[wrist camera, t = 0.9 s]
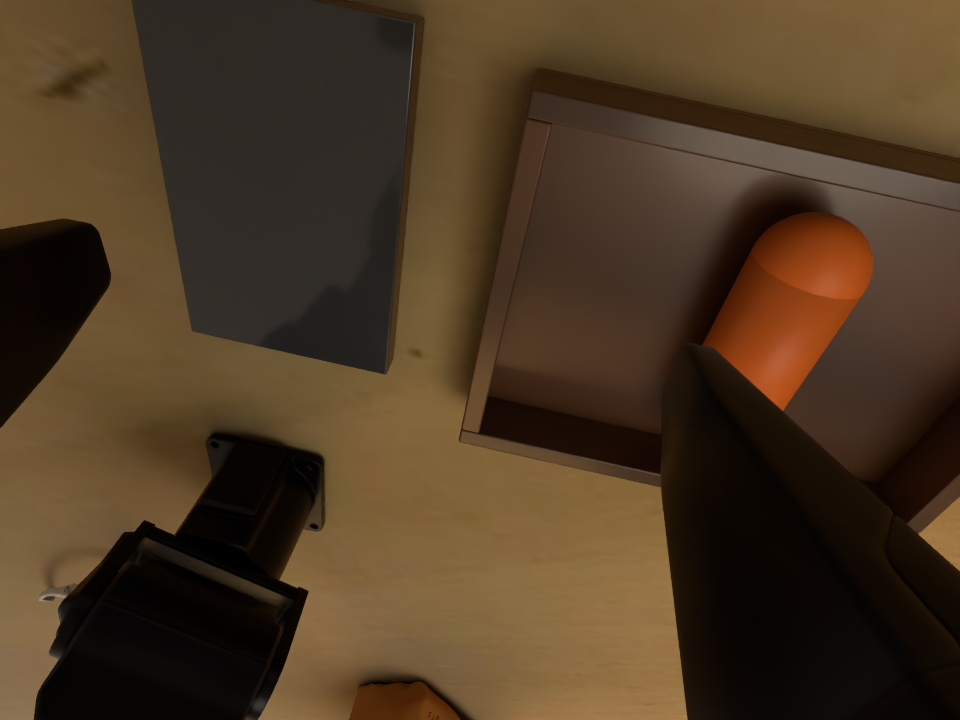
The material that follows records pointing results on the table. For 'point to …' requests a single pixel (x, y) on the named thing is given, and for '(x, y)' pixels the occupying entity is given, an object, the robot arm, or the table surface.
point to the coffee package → (400, 703)
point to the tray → (712, 285)
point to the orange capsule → (791, 300)
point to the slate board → (287, 166)
